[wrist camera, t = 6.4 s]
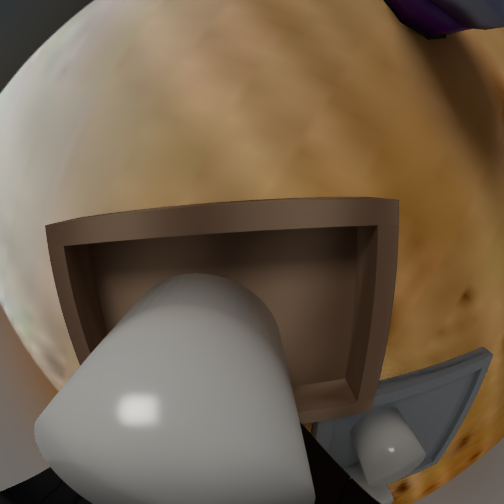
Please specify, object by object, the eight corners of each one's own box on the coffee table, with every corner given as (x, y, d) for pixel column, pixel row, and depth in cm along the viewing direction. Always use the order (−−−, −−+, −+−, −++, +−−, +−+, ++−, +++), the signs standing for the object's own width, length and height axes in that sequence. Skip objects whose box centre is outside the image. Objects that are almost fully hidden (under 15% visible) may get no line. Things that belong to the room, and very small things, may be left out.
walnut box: (368, 196, 13) (398, 199, 10) (354, 380, 15) (370, 411, 12) (78, 217, 13) (45, 225, 10) (120, 388, 15) (103, 418, 12)
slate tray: (483, 346, 15) (493, 354, 14) (431, 455, 19) (436, 463, 17) (315, 392, 15) (320, 407, 14) (301, 493, 18) (303, 503, 17)
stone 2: (398, 397, 15) (427, 441, 10) (401, 427, 16) (424, 466, 11) (345, 423, 15) (364, 472, 11) (354, 449, 16) (370, 492, 11)
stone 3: (386, 457, 17) (402, 493, 12) (365, 480, 17) (377, 514, 13) (347, 462, 16) (361, 503, 12) (328, 485, 17) (337, 522, 13)
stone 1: (279, 401, 7) (299, 538, 3) (146, 397, 7) (99, 517, 3) (282, 270, 6) (343, 415, 2) (118, 274, 6) (-9, 373, 2)
